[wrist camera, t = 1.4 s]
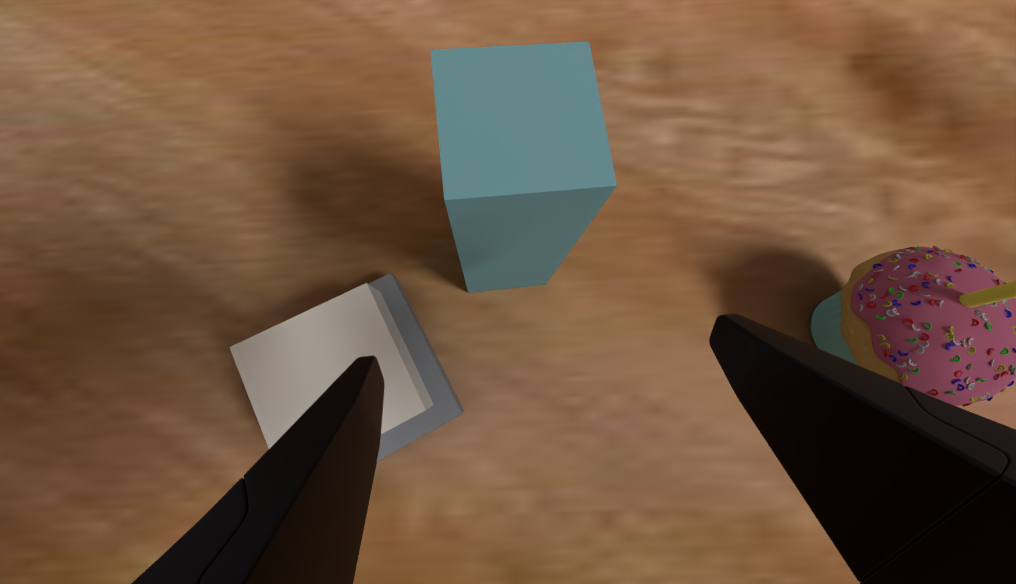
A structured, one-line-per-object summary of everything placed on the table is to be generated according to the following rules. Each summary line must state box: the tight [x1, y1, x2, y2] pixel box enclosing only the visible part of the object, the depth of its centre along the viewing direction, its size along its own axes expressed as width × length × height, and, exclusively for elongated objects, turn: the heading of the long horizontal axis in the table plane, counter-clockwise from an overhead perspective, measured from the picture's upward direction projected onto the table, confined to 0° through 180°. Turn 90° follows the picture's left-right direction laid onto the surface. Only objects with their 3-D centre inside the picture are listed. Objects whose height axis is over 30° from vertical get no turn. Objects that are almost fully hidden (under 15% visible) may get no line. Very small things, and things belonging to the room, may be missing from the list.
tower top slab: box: [229, 283, 433, 449], centre depth 18 cm, size 7×7×2 cm
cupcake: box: [811, 246, 1016, 406], centre depth 18 cm, size 9×8×12 cm
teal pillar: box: [431, 42, 617, 293], centre depth 17 cm, size 5×5×13 cm
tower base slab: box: [369, 273, 464, 462], centre depth 21 cm, size 9×9×2 cm
